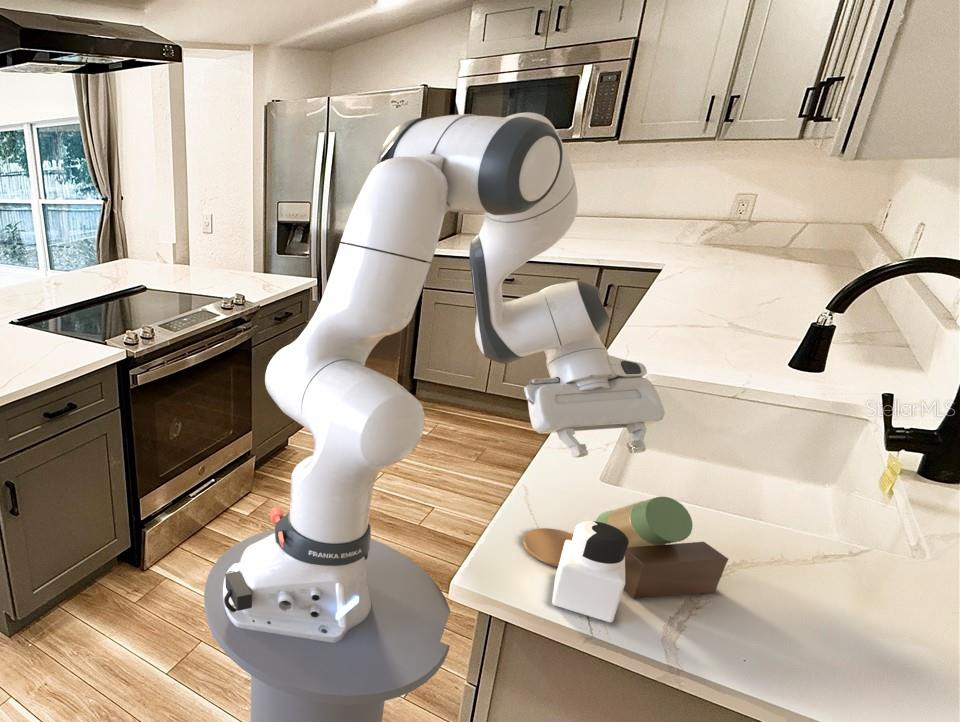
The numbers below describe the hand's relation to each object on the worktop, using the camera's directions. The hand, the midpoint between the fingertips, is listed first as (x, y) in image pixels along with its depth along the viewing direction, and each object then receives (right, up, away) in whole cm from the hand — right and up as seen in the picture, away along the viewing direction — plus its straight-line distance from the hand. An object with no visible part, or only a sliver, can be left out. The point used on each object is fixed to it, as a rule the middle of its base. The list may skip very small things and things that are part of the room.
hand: (609, 454), depth 98 cm
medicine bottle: (-11, -20, -10) cm, 25 cm away
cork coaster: (-8, -15, 0) cm, 17 cm away
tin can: (+1, -16, -3) cm, 16 cm away
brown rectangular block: (+1, -17, -4) cm, 17 cm away
